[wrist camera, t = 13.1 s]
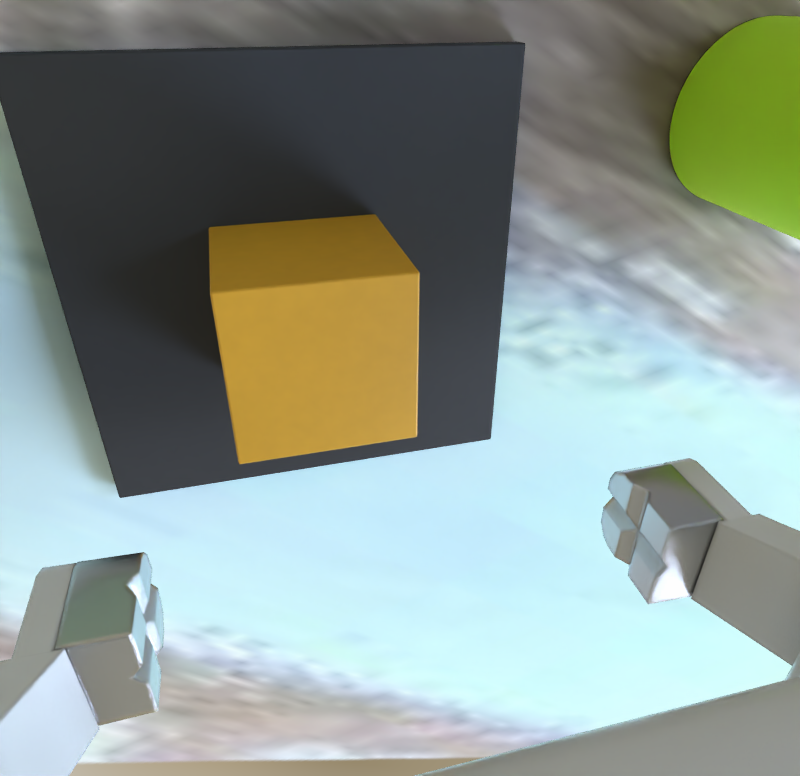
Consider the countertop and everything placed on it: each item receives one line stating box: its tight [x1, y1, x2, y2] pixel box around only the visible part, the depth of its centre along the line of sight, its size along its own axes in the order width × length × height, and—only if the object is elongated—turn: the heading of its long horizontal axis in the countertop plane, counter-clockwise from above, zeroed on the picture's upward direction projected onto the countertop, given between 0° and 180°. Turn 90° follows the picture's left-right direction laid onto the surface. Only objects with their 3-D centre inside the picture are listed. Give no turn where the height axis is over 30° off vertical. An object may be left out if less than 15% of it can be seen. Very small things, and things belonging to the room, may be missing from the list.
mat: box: [0, 42, 525, 498], centre depth 21 cm, size 14×14×1 cm
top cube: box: [209, 214, 420, 464], centre depth 19 cm, size 5×5×5 cm
